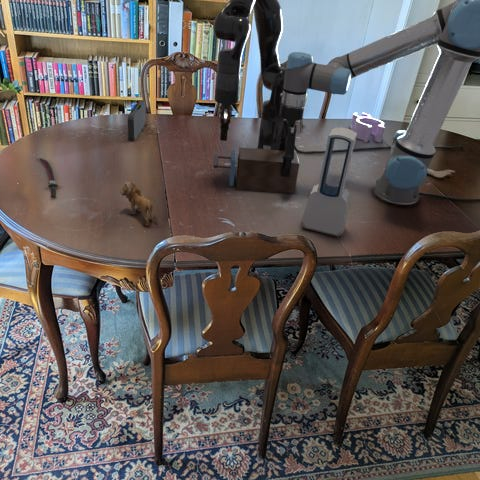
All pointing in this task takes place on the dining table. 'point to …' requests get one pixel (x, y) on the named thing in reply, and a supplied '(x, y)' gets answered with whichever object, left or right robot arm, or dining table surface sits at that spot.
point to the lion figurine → (137, 201)
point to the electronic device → (330, 192)
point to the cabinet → (265, 171)
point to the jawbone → (439, 173)
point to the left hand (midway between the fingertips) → (223, 139)
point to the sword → (52, 181)
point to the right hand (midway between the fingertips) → (282, 168)
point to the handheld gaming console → (136, 120)
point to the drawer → (232, 166)
